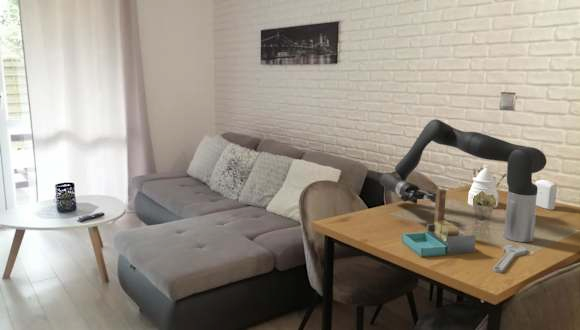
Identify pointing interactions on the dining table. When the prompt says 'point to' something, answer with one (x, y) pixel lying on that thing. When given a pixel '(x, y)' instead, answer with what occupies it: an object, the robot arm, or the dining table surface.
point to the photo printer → (546, 194)
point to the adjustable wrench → (508, 257)
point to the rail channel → (454, 241)
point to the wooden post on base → (440, 205)
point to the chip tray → (424, 244)
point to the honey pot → (483, 185)
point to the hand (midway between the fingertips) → (426, 200)
